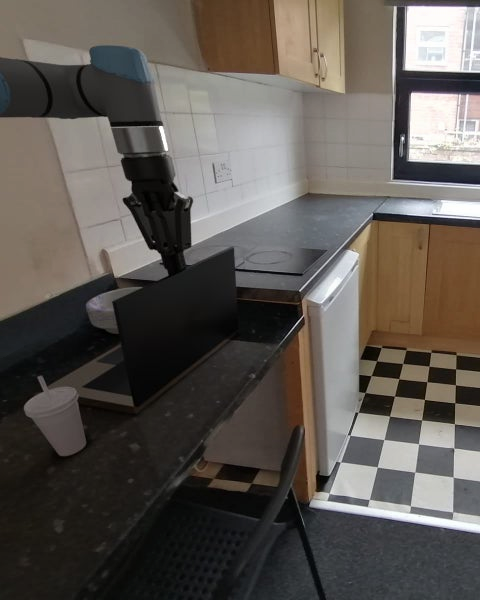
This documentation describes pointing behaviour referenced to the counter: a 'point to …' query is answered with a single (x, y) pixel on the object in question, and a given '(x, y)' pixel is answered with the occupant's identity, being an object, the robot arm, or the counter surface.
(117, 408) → the laptop
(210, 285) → the laptop screen
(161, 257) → the robot arm
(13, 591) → the counter surface
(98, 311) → the paper bowls
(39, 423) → the smoothie
